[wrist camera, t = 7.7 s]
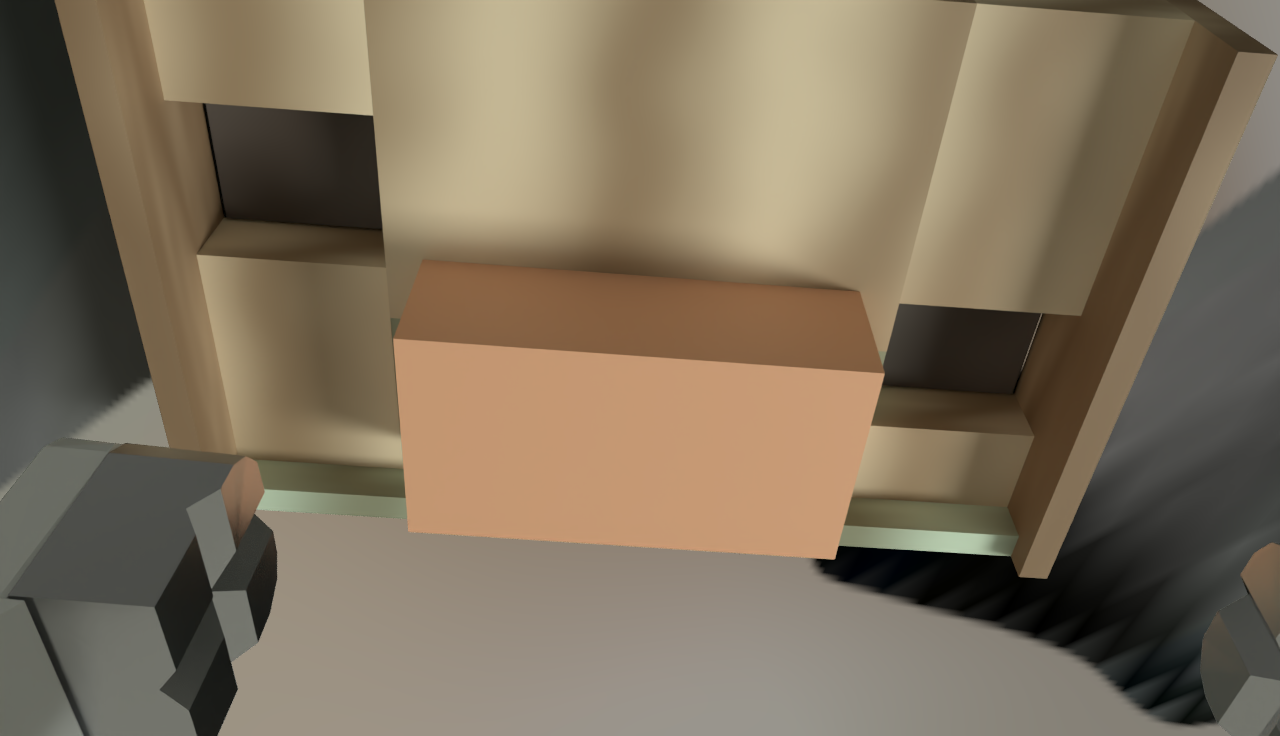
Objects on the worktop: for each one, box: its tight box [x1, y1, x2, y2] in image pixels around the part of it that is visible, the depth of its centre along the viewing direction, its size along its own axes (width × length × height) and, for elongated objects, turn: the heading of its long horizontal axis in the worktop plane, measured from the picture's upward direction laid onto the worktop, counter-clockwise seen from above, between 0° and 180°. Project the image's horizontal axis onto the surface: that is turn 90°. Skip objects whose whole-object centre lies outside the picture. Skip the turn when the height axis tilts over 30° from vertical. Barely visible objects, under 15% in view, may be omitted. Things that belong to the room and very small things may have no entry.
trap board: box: [55, 0, 1278, 578], centre depth 26 cm, size 24×15×4 cm, turn 86°
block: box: [393, 260, 885, 559], centre depth 26 cm, size 11×6×4 cm, turn 86°
